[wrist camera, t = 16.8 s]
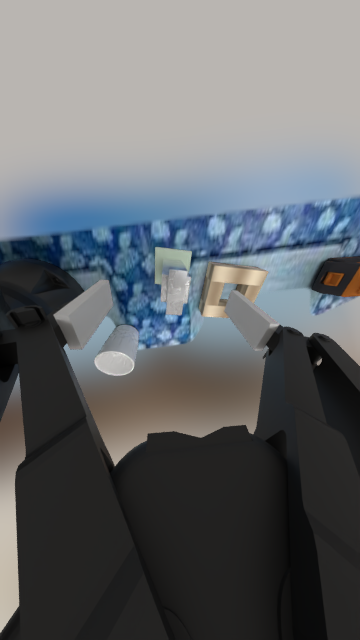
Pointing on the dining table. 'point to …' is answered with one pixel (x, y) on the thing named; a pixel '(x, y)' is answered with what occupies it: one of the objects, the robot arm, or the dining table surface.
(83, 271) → the dining table surface
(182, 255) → the mat
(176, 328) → the dining table surface
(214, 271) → the socket block
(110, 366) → the white cup
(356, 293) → the power drill
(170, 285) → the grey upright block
